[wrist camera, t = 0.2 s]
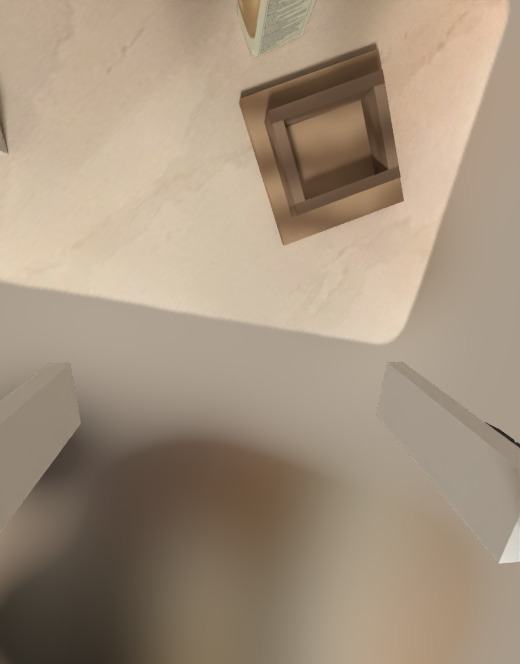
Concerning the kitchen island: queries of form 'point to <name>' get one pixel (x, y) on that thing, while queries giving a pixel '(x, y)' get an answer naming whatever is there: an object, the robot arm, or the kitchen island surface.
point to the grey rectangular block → (2, 144)
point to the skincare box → (272, 22)
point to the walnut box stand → (325, 146)
